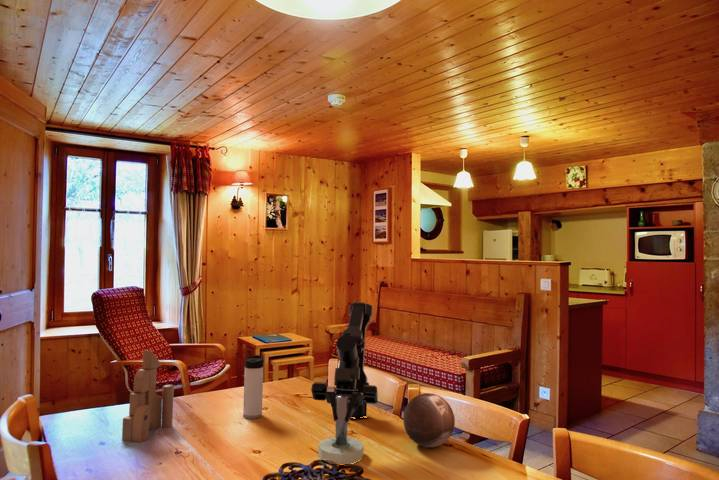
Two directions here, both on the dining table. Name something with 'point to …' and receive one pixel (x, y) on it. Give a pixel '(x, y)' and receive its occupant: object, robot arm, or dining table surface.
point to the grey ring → (341, 450)
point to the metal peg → (341, 419)
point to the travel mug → (253, 387)
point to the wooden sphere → (428, 420)
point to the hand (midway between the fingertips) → (341, 421)
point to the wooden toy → (147, 403)
